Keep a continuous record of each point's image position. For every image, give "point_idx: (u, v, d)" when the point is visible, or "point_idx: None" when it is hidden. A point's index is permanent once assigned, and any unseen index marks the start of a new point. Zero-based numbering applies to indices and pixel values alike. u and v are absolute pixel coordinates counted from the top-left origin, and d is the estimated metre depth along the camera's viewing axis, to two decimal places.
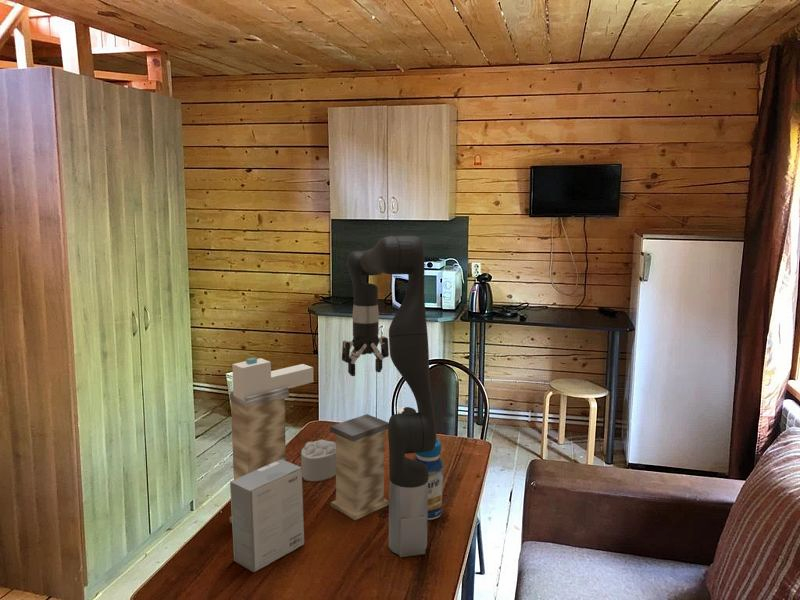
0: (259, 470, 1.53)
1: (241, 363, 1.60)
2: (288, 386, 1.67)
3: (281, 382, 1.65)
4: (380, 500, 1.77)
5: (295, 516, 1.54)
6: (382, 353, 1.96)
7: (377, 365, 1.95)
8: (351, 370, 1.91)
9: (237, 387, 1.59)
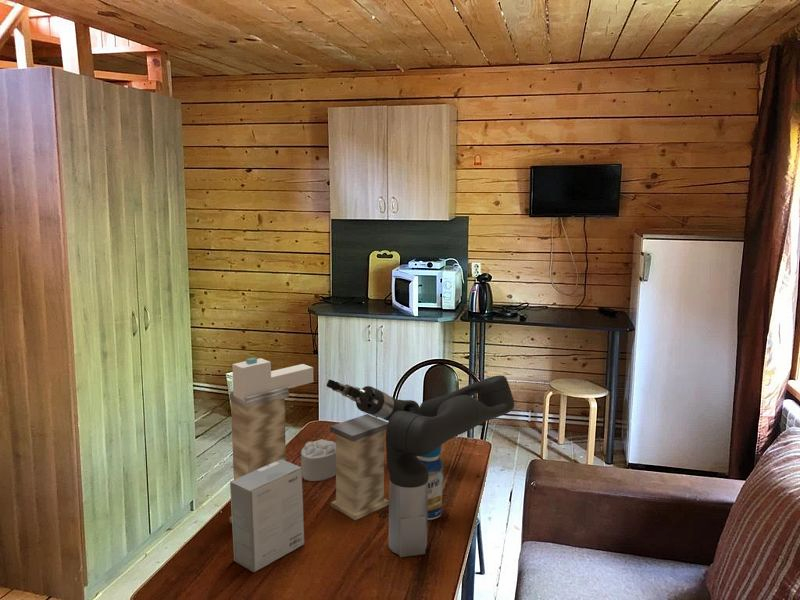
0: (259, 470, 1.53)
1: (241, 363, 1.60)
2: (288, 386, 1.67)
3: (281, 382, 1.65)
4: (380, 500, 1.77)
5: (295, 516, 1.54)
6: None
7: (333, 385, 1.86)
8: (352, 394, 1.80)
9: (237, 387, 1.59)
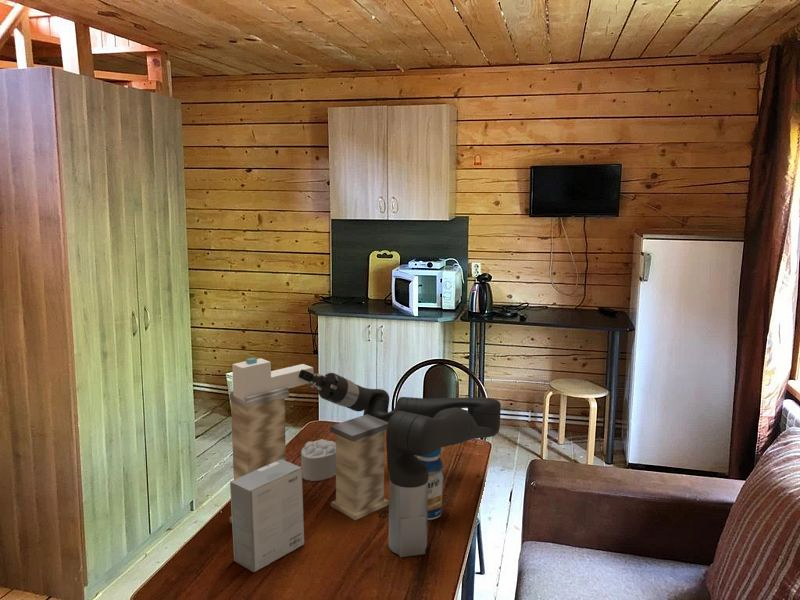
0: (259, 470, 1.53)
1: (241, 363, 1.60)
2: (288, 386, 1.67)
3: (281, 382, 1.65)
4: (380, 500, 1.77)
5: (295, 516, 1.54)
6: None
7: None
8: (305, 378, 1.69)
9: (237, 387, 1.59)
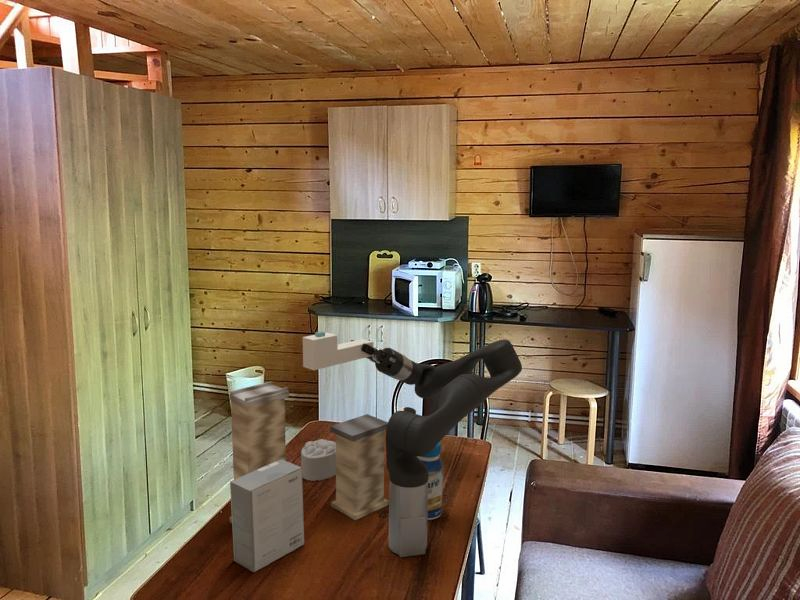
0: (259, 470, 1.53)
1: (310, 336, 1.72)
2: (351, 359, 1.79)
3: (346, 355, 1.77)
4: (380, 500, 1.77)
5: (295, 516, 1.54)
6: None
7: None
8: (367, 351, 1.81)
9: (307, 359, 1.71)
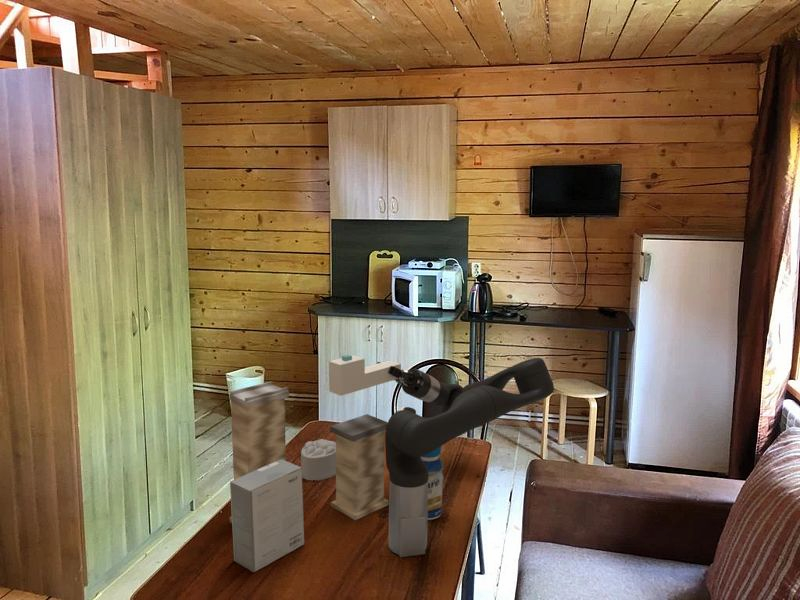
0: (259, 470, 1.53)
1: (337, 360, 1.66)
2: (379, 382, 1.73)
3: (373, 378, 1.71)
4: (380, 500, 1.77)
5: (295, 516, 1.54)
6: None
7: None
8: (394, 374, 1.75)
9: (334, 383, 1.65)
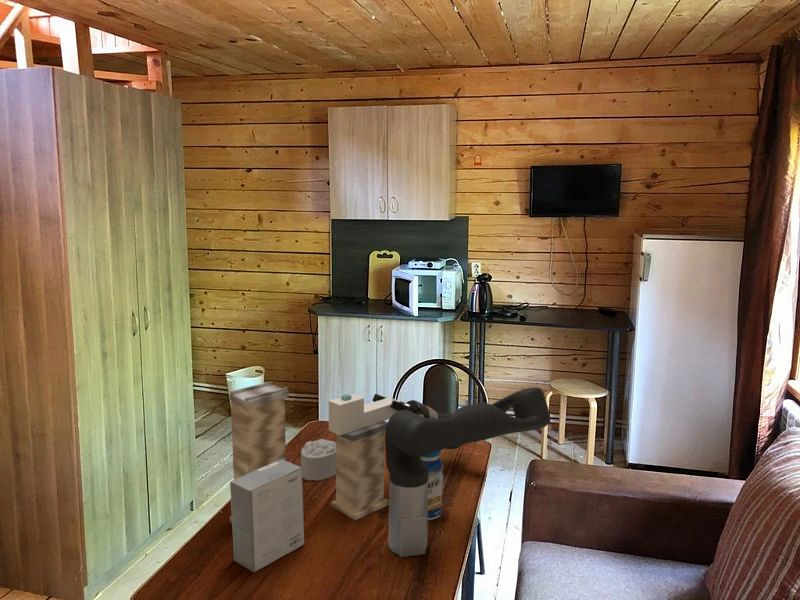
0: (259, 470, 1.53)
1: (336, 400, 1.68)
2: (378, 421, 1.75)
3: (372, 417, 1.73)
4: (380, 500, 1.77)
5: (295, 516, 1.54)
6: None
7: None
8: (397, 408, 1.76)
9: (333, 423, 1.67)
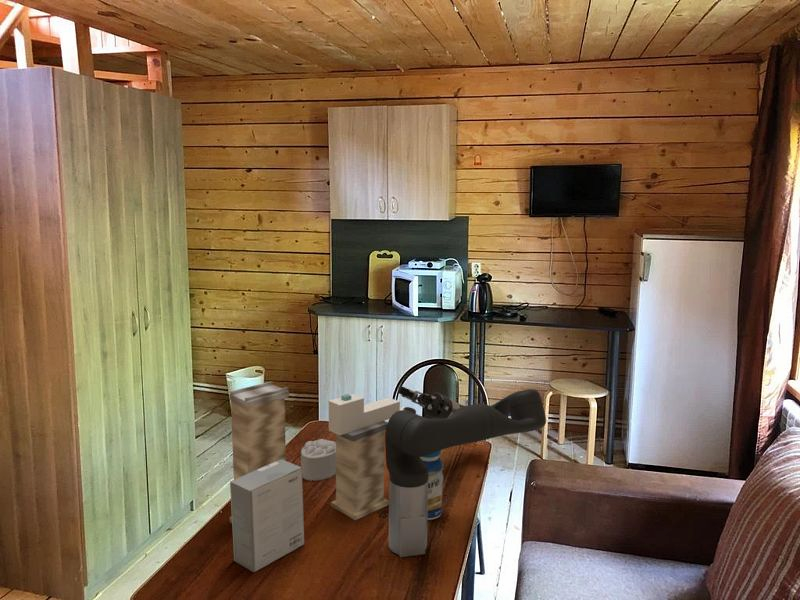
0: (259, 470, 1.53)
1: (336, 400, 1.68)
2: (378, 421, 1.75)
3: (372, 417, 1.73)
4: (380, 500, 1.77)
5: (295, 516, 1.54)
6: None
7: (404, 392, 1.89)
8: (425, 401, 1.83)
9: (333, 423, 1.67)
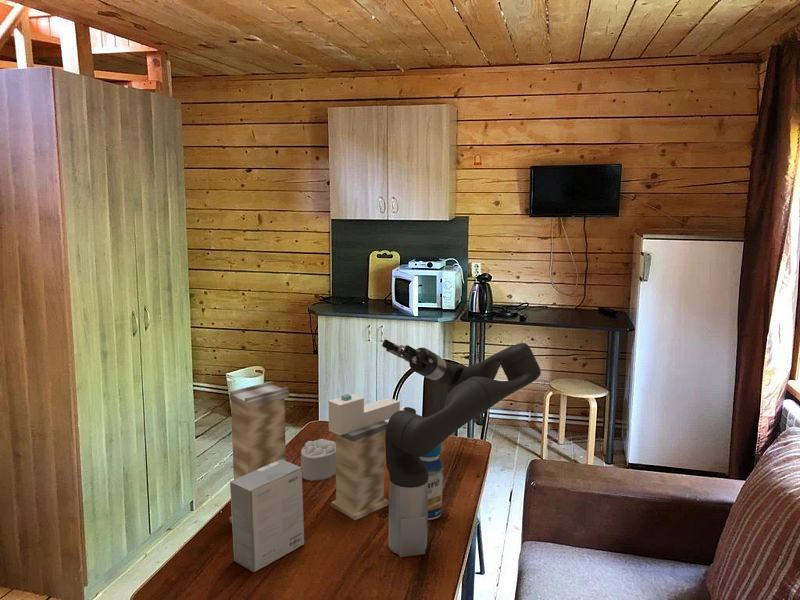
0: (259, 470, 1.53)
1: (336, 400, 1.68)
2: (378, 421, 1.75)
3: (372, 417, 1.73)
4: (380, 500, 1.77)
5: (295, 516, 1.54)
6: None
7: (388, 345, 1.88)
8: (410, 353, 1.81)
9: (333, 423, 1.67)
